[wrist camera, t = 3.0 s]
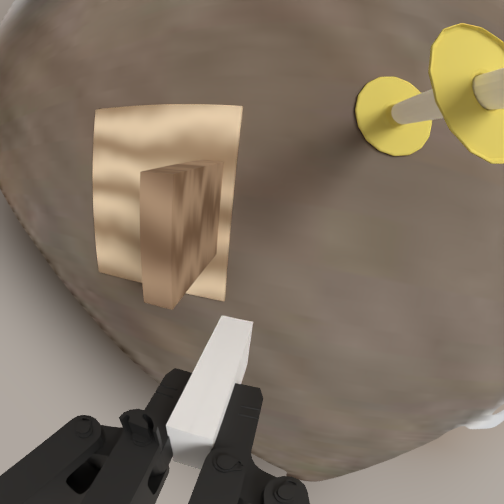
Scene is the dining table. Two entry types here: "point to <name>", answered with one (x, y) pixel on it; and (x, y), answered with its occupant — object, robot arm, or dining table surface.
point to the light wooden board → (150, 157)
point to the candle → (442, 98)
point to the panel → (178, 227)
